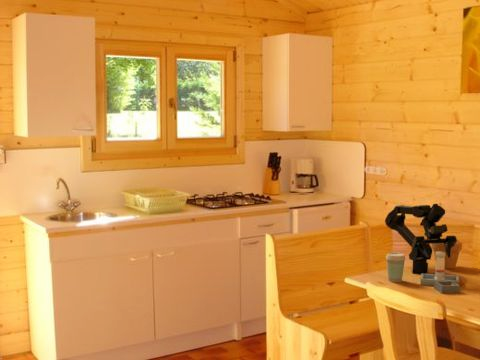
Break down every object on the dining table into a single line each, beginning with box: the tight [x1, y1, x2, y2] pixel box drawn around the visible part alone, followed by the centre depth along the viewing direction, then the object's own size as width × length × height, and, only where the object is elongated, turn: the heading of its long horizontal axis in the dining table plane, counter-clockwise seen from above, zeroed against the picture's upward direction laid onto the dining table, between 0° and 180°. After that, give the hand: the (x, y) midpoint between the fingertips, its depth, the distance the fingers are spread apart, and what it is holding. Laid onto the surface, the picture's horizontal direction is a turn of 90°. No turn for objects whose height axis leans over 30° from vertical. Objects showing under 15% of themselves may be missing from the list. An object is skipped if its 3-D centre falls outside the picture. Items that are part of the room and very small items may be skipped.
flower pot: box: [430, 237, 463, 270], centre depth 324 cm, size 14×14×13 cm
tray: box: [419, 273, 460, 287], centre depth 294 cm, size 16×11×2 cm
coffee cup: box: [385, 252, 406, 283], centre depth 298 cm, size 8×8×12 cm
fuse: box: [434, 251, 446, 280], centre depth 293 cm, size 4×4×13 cm
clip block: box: [433, 281, 461, 294], centre depth 281 cm, size 8×8×3 cm
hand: (439, 257), depth 293 cm, fingers open, 9 cm apart
